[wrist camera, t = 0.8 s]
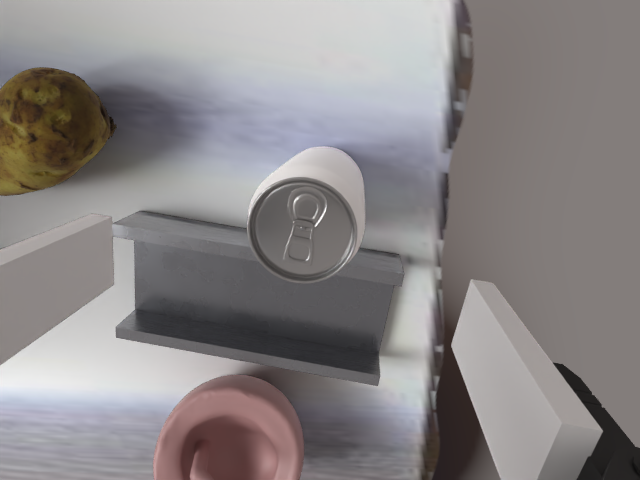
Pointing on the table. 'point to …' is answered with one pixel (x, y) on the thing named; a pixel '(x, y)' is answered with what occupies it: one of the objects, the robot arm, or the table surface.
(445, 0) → the table surface
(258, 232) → the can
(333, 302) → the track
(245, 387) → the mortar and pestle
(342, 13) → the table surface
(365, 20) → the table surface
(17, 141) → the potato
